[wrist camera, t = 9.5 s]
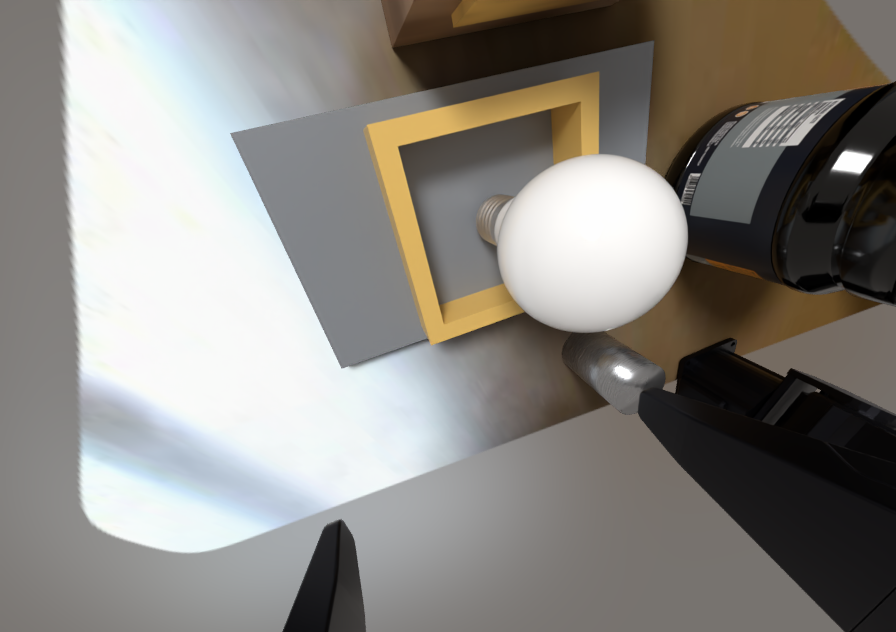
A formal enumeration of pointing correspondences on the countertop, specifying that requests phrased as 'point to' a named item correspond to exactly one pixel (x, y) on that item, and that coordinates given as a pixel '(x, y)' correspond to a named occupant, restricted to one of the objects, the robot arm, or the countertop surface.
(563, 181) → the lightbulb
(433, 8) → the lamp unit
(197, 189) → the countertop surface
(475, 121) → the board
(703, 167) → the supplement container
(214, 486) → the countertop surface
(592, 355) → the silver metal cylinder
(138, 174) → the countertop surface
